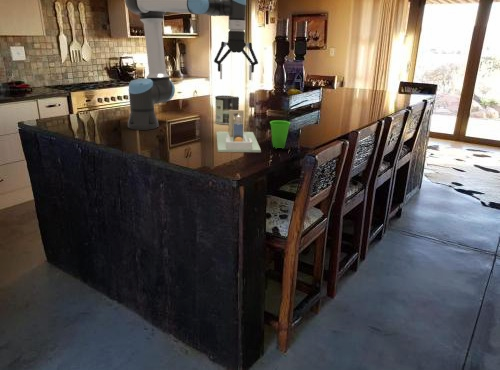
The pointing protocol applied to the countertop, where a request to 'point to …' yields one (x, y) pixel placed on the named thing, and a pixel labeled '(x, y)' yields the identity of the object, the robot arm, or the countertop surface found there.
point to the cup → (279, 133)
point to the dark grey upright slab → (237, 119)
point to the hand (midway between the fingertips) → (235, 79)
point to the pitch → (226, 138)
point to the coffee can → (223, 109)
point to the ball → (238, 139)
